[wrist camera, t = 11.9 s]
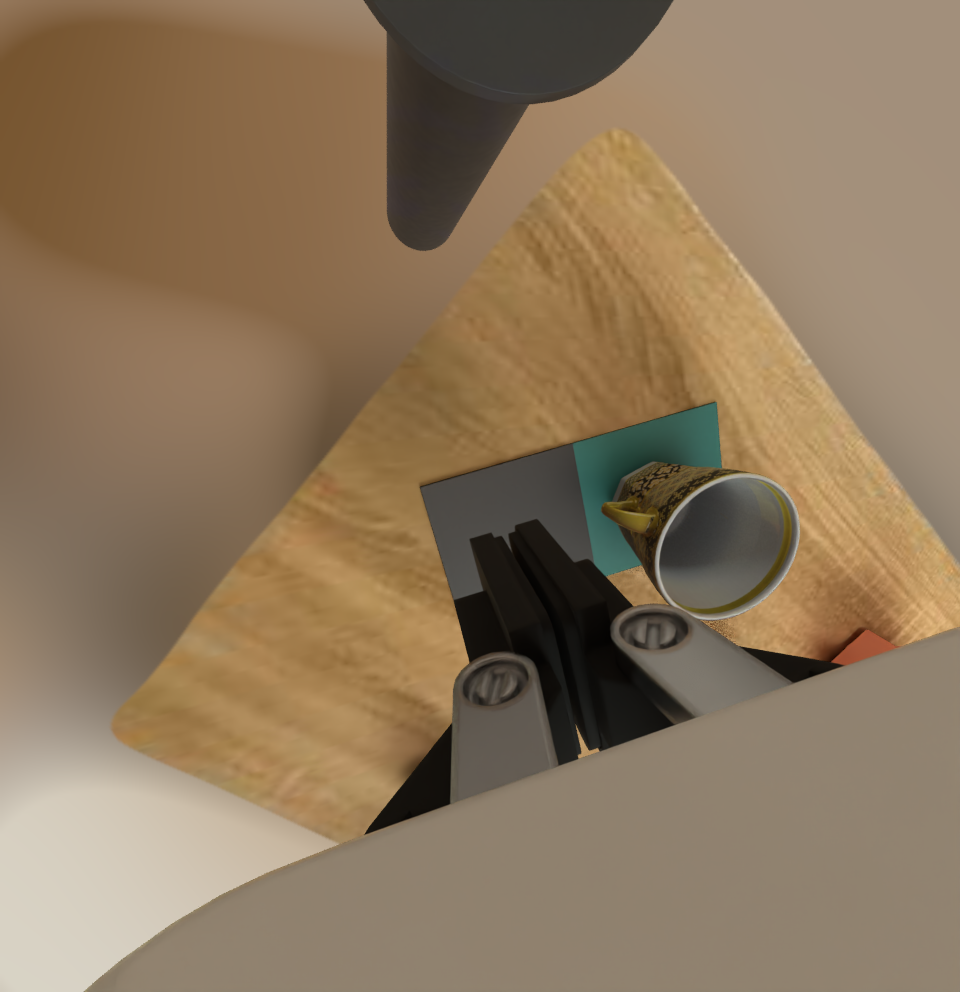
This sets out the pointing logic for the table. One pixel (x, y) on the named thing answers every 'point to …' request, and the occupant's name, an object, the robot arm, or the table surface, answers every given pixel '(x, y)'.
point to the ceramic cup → (707, 535)
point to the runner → (563, 493)
